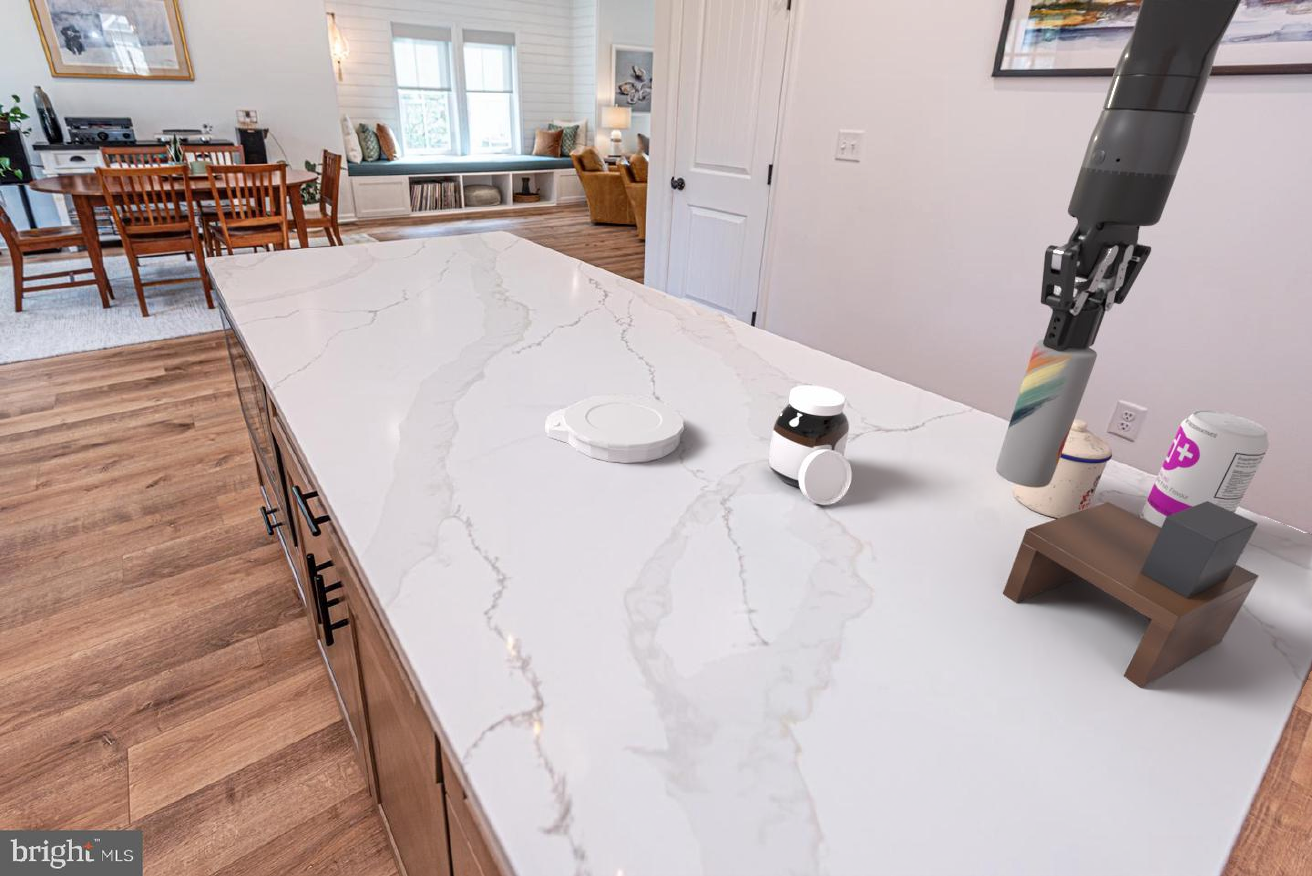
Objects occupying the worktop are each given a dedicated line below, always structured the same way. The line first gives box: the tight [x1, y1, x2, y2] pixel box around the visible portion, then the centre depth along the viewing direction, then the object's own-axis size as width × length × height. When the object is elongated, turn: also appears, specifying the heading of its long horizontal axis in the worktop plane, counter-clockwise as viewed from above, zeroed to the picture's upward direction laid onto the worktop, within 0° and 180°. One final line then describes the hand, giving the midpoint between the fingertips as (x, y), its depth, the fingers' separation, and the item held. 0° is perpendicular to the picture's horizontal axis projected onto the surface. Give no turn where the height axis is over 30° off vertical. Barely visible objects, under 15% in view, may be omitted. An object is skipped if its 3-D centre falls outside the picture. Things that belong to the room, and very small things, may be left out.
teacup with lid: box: [1013, 418, 1113, 519], centre depth 87 cm, size 12×9×12 cm
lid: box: [544, 393, 685, 464], centre depth 97 cm, size 17×20×3 cm
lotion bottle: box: [995, 296, 1103, 488], centre depth 72 cm, size 6×6×20 cm
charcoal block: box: [1141, 501, 1258, 598], centre depth 60 cm, size 7×4×6 cm, turn 118°
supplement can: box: [1139, 409, 1270, 527], centre depth 81 cm, size 8×8×15 cm
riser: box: [1002, 501, 1260, 689], centre depth 66 cm, size 14×14×8 cm
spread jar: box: [768, 384, 853, 506], centre depth 86 cm, size 12×11×12 cm
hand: (1067, 345), depth 69 cm, fingers closed on lotion bottle, 4 cm apart
